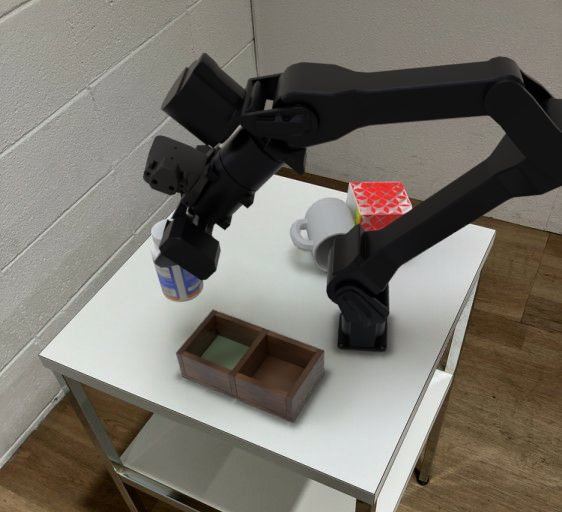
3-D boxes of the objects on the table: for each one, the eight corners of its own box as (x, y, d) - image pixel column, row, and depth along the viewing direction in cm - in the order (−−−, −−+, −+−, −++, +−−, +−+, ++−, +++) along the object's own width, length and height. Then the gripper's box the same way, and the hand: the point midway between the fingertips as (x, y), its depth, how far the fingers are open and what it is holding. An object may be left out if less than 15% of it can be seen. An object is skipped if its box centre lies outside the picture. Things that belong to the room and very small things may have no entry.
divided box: (324, 373, 82) (324, 350, 78) (292, 422, 77) (291, 399, 74) (217, 332, 87) (212, 309, 84) (181, 376, 83) (175, 352, 79)
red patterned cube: (349, 182, 93) (360, 214, 88) (401, 181, 94) (415, 213, 89) (341, 227, 99) (351, 259, 94) (390, 226, 100) (402, 258, 95)
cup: (346, 235, 100) (358, 272, 94) (283, 235, 99) (291, 273, 93) (354, 195, 95) (367, 232, 89) (288, 195, 93) (297, 233, 87)
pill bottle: (201, 272, 84) (188, 210, 77) (206, 299, 81) (193, 237, 74) (160, 279, 84) (143, 218, 77) (164, 307, 81) (146, 246, 73)
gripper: (194, 75, 70) (124, 165, 80) (159, 171, 58) (81, 263, 68) (271, 139, 75) (196, 217, 85) (253, 240, 63) (168, 316, 73)
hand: (162, 249), depth 78 cm, fingers closed on pill bottle, 5 cm apart
